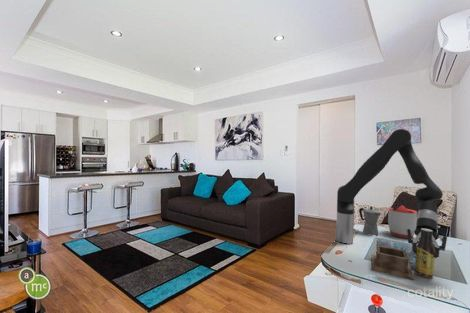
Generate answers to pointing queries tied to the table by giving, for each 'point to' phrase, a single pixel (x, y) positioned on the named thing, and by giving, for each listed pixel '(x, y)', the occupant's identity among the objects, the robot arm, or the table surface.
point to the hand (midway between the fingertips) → (425, 254)
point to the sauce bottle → (425, 254)
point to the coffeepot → (370, 220)
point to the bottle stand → (392, 262)
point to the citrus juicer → (402, 221)
